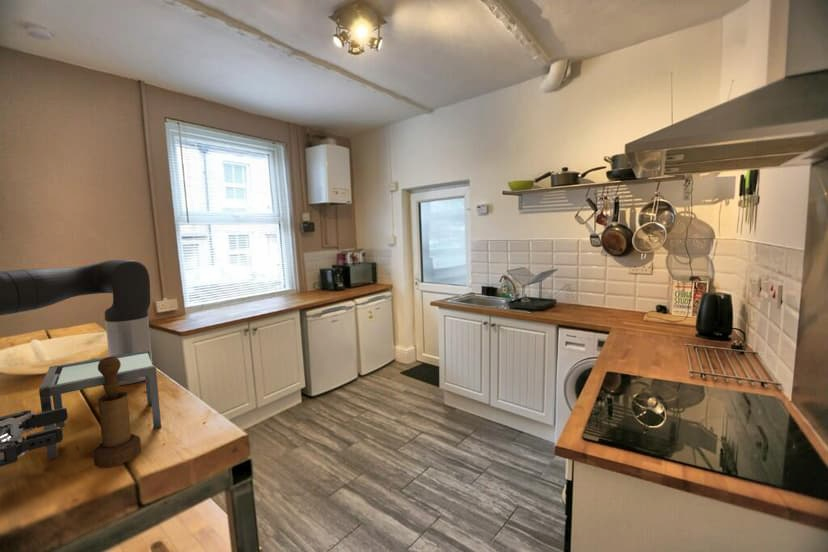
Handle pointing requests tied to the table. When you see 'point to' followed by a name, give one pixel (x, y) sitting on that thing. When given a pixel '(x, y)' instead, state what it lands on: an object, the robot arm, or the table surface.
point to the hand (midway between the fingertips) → (64, 423)
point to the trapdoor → (92, 370)
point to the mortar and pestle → (114, 421)
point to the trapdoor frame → (55, 390)
